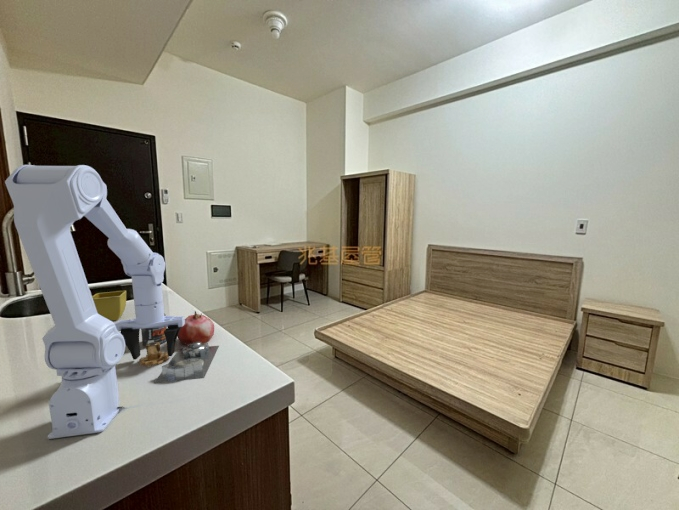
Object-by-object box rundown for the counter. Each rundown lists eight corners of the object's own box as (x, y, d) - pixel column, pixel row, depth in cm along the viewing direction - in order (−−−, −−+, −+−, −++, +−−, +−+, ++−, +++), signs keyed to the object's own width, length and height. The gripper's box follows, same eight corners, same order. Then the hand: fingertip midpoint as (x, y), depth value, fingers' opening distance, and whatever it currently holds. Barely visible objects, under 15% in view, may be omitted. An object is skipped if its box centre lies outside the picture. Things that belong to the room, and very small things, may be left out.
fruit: (180, 339, 85) (177, 306, 83) (215, 334, 88) (213, 303, 87) (175, 353, 76) (172, 317, 75) (214, 347, 79) (212, 312, 78)
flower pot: (99, 317, 103) (96, 292, 102) (129, 313, 107) (126, 290, 106) (91, 325, 95) (87, 299, 94) (123, 321, 99) (120, 296, 98)
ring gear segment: (200, 376, 63) (199, 366, 63) (159, 381, 62) (158, 370, 61) (203, 370, 66) (203, 360, 66) (164, 374, 64) (163, 364, 64)
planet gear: (163, 368, 68) (162, 348, 68) (134, 371, 67) (132, 351, 67) (173, 356, 75) (171, 337, 74) (146, 358, 73) (144, 339, 73)
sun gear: (205, 356, 72) (205, 347, 72) (179, 359, 71) (178, 349, 71) (211, 346, 78) (210, 337, 78) (187, 348, 77) (186, 339, 76)
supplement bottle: (155, 351, 77) (152, 310, 76) (137, 349, 78) (133, 309, 77) (172, 341, 83) (169, 304, 82) (155, 340, 84) (151, 302, 83)
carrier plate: (204, 382, 63) (204, 376, 63) (153, 387, 61) (153, 381, 61) (219, 349, 79) (219, 344, 78) (179, 352, 77) (179, 347, 76)
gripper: (187, 295, 74) (191, 345, 76) (123, 299, 71) (129, 351, 73) (177, 304, 67) (182, 358, 69) (106, 308, 64) (113, 365, 66)
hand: (154, 355), depth 71 cm, fingers open, 7 cm apart
